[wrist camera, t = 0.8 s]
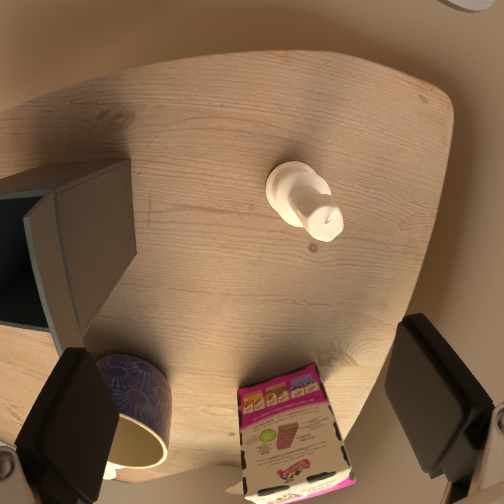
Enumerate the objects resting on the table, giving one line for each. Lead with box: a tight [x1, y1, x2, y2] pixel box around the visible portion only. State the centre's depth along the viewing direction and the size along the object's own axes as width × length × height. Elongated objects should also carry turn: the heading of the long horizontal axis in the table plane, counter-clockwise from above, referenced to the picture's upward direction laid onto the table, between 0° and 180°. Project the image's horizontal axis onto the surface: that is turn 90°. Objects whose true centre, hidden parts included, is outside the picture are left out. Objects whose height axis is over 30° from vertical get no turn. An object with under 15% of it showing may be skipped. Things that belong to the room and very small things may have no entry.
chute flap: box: [23, 191, 83, 358], centre depth 14 cm, size 5×10×1 cm
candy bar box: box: [237, 364, 356, 504], centre depth 32 cm, size 11×5×16 cm, turn 112°
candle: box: [266, 161, 344, 242], centre depth 25 cm, size 5×5×12 cm
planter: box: [96, 354, 172, 468], centre depth 33 cm, size 12×12×11 cm
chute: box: [0, 158, 137, 337], centre depth 20 cm, size 11×10×20 cm
